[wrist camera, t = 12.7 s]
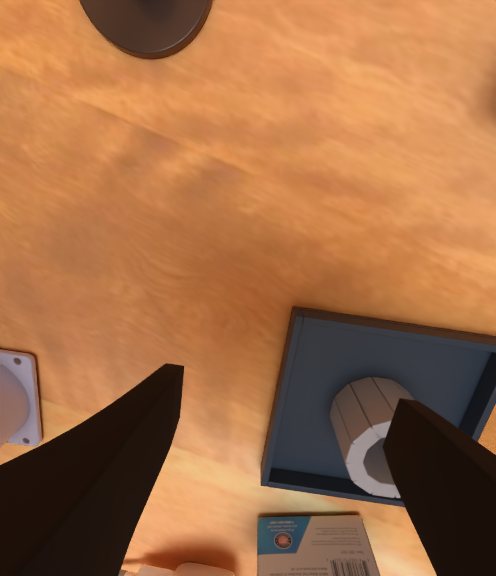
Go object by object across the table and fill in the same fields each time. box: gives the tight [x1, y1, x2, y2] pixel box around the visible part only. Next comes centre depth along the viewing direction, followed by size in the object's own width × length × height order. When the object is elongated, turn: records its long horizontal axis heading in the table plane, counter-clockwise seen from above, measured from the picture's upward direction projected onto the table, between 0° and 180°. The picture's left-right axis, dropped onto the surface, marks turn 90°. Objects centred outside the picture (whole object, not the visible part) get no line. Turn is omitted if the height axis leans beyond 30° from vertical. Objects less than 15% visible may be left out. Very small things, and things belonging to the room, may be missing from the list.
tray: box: [261, 306, 496, 507], centre depth 20 cm, size 14×14×2 cm
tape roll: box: [330, 377, 414, 498], centre depth 18 cm, size 6×6×4 cm
